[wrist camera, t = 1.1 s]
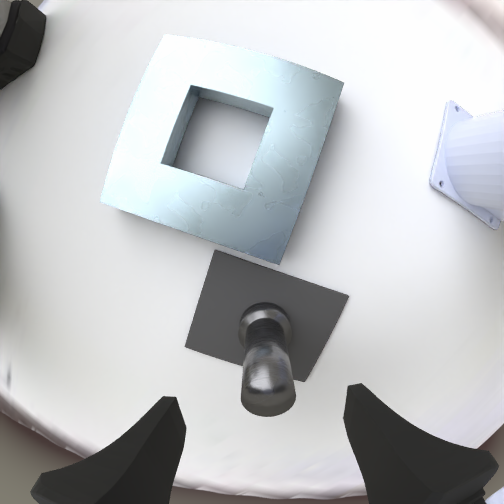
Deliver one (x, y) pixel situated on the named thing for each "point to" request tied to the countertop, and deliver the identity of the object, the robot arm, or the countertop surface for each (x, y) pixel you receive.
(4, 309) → the countertop surface
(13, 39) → the cordless drill
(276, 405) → the dark grey peg
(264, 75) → the grey flat square frame
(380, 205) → the countertop surface
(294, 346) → the tool mat
